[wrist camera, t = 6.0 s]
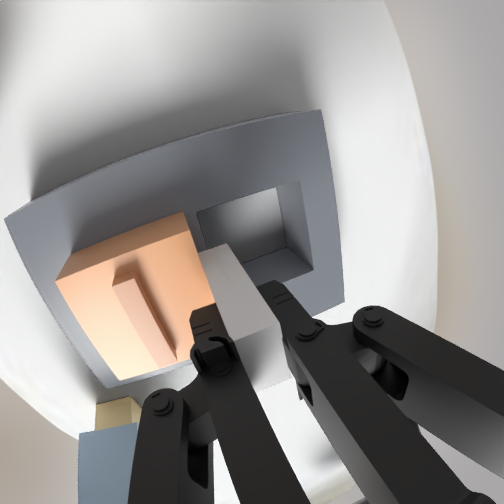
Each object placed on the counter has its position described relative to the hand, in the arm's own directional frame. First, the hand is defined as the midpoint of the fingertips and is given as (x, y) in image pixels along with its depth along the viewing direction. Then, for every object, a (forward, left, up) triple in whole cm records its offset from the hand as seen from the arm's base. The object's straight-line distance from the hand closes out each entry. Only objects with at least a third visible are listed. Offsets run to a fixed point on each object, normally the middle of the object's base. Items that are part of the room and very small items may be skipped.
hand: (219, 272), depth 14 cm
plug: (-14, +13, -6) cm, 20 cm away
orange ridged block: (0, +4, -1) cm, 4 cm away
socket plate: (0, +1, -6) cm, 6 cm away
